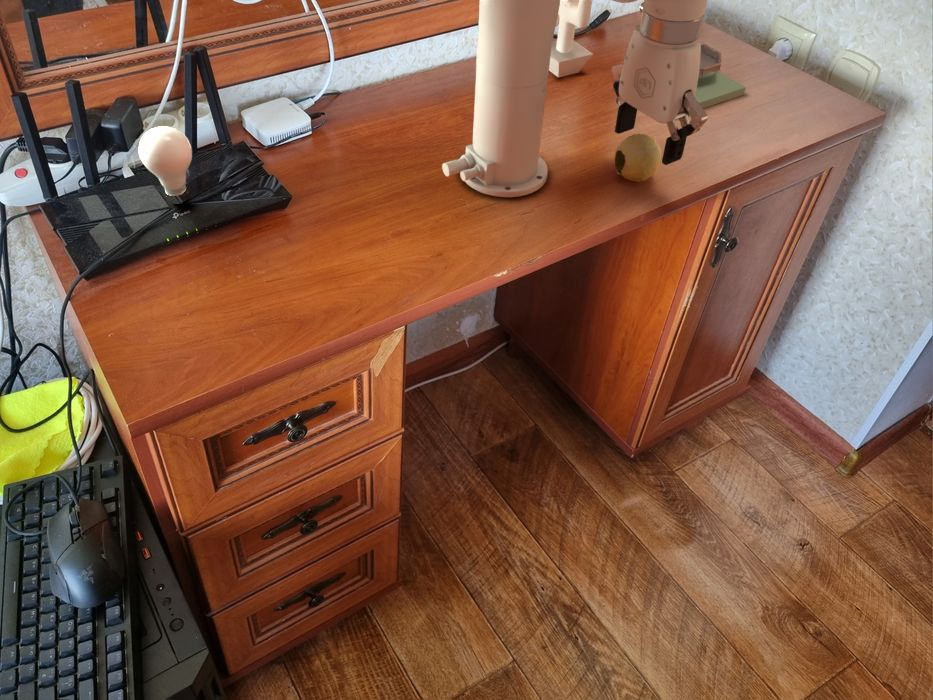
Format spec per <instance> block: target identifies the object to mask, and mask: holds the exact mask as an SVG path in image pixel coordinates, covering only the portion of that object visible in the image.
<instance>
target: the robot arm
mask: <svg viewBox="0 0 933 700" xmlns="http://www.w3.org/2000/svg"><path fill="white" fill-rule="evenodd" d="M612 1H613V2H615V3H620V4H622V3H623V4H630V3H634V2H637V1H638V0H612ZM478 3H479V4H478V6H479V7H478V8H479V9H478V13H479V14H478V28H477V40H476V41H477V44H476V61H475V86H474V108H473V125H472V126H473V127H472V144H468V145H466V146H465V154H462V155H461V156H460V158H458V159H452V160H449V161H446V162H443V163H442V164H441V170H442V172H443V174H444V175H445V177H451V176H454V175H457V174H459V177H460V179H461V181H462V182H465V183H466V185H468V186H469V187H470V188H471V189H473V190H476V191H477V192H479V193H481V194H484V195H488V196H492V197H498V198H515V197H516V198H518V197H522V196H523V197H524V196H528V195H530V194H532V193H534V192H535V193H536V191H539V189H541V188H542V187H543V186H544V185H545V183H546V182H547V180H548V174H549V173H548V171H549V169H548V165H547V163H546V162H545V161H546V160H544V159H543V158H542V156H540V149H541V140H542V133H543V125H544V115H545V108H546V99H547V92H548V83H549V76H550V75H549V74H550V73H549V72H550V71H549V65H550V57H551V49H552V42H553V41H554V36H555V30H556V27H557V26H556V21H557V16H558V11H559V5H560V0H479V2H478ZM707 4H708V0H643V1H642V2H641V4H640V5H639V11H640V12H641V17H640V23H639V24H638V25H636V26H635V28H634V30H633V32H632V35H631V37H630V39H629V43H628V46H627V49H626V52H625V56H624V60H623V63H619V64H616V65H613V66H612V67H611V74H612V75H611V76H612V81H613V84H612V85H613V91H614V93H615V96H616V98H615V103H616V106H618V107H617V108H618V109H617V115H616V121H615V127H614V128H615V129H614V133H616V134H617V135H618V134H619V135H620V134H623V133H625V132H628V131H631V130H633V129H634V128H635V124H636V119H637V115H638V114H637V113H638V111H639V112H640V113H642V114H644V115H645V116H647V117H649V118H650V119H652V120H654V121H656V122H657V123H659V124H663V125H664V124H666V125H667V129H668V132H669V135H670V136H669V137H667V138H666V140H665V143H664V149H663V152H662V153H663V154H662V157H661V164H663V165H664V166H668V165H670V164H673V163H675V162H677V161H680V160H681V159H682V157H683V155H684V151H685V146H686V143H687V138H688V137H689V136H691V135H693V134H695V133H697V132H699V131H700V130H701V128H702V127H703V126H704V125H705V124H706V122H707V121H708V119H709V116H708V114H707V112H706V111H705V110H704V108H702V107H701V105H700V104H699V102H698V101H697V99H696V98H695V94H696V89H697V84H698V77H699V69H700V56H701V43H702V42H701V41H699V40H700V35H701V30H702V27H703V22H704V16H705V13H706V8H707ZM555 26H556V27H555ZM677 113H678V114H677ZM689 116H690V118H689ZM677 120H679V124H680V128H679V126H678V123H677Z"/></svg>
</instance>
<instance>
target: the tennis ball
mask: <svg viewBox="0 0 933 700" xmlns="http://www.w3.org/2000/svg"><path fill="white" fill-rule="evenodd" d="M613 161H614V166H615V170H616V174H617V175H621V176H622V178H624V179H626V180H628V181H631V182H637V183H640V182H643V181H647V180H648V179H650V178H652V177H653V176H654V175H656V173H657V171H658V170H659V168H660V165H661V164H662V150H661V147H660V145H659V143H658V142H657V141H656V140H655V139H654V138H653V137H651V136H649V135H647V134H643V133H633V134H632V135H629V136H627V137H626V138H624V139H623V140H622V141H620V143H619V145H618V146H617V147H616V149H615V152H614V160H613Z"/></svg>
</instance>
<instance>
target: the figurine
mask: <svg viewBox="0 0 933 700" xmlns="http://www.w3.org/2000/svg"><path fill="white" fill-rule="evenodd" d="M592 5H593V0H560V5H559V11H558V16H557V21H556V26H555V28H556V27H558V29H557V30H558V31H557V37H556V38H557V39H556V40H553V42H552V49H551V57H550V65H549V72H550V73H552V74H553V75H554V76H556V77H557V78H562V77H566V76H570V75H575V74H579V73H580V72H581V70H582V69H583V68H584V66H585V65H586V64H587V63H588V62H589V60H590V59H591V58H592V56H593V55H594V53H593V52H591V51H589V49H586V48H585V46H583V45H581V44H580V43H578V42H577V41H575V40H574V39H575V32H576V28H578V29H585V28H586V27H587V26H588V24H589V22H590V18H591V13H592Z"/></svg>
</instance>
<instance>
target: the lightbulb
mask: <svg viewBox="0 0 933 700" xmlns="http://www.w3.org/2000/svg"><path fill="white" fill-rule="evenodd" d="M138 155H139V159H140V160H141V163H142V164H143V165H144V167H145V168H146V169H147V170H148V171H149V172H150V173H152V174H153V175H154V176H155V177H156V178H157V179H158V181H159V182H160V185H161V186H162V187H163V189H164V191H165V194H167V195H169V196H179V195H182V194H183V193H184V192H185V191H186V189H187V186H186V181H187V171H188V169H189V168H190V165H191V163H192V159H193V149H192V145H191V143H190V140H189V139H188V137H187V136H186V135H185V134H184V133H183V132H181V131H180V130H179V129H177V128H175V127H172V126H168V125H160V126H159V125H158V126H155V127H152V128H150V129H149V130H147V131H146V132H145V133H144V134H143V135H142V137H141V139H140V140H139V144H138Z"/></svg>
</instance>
